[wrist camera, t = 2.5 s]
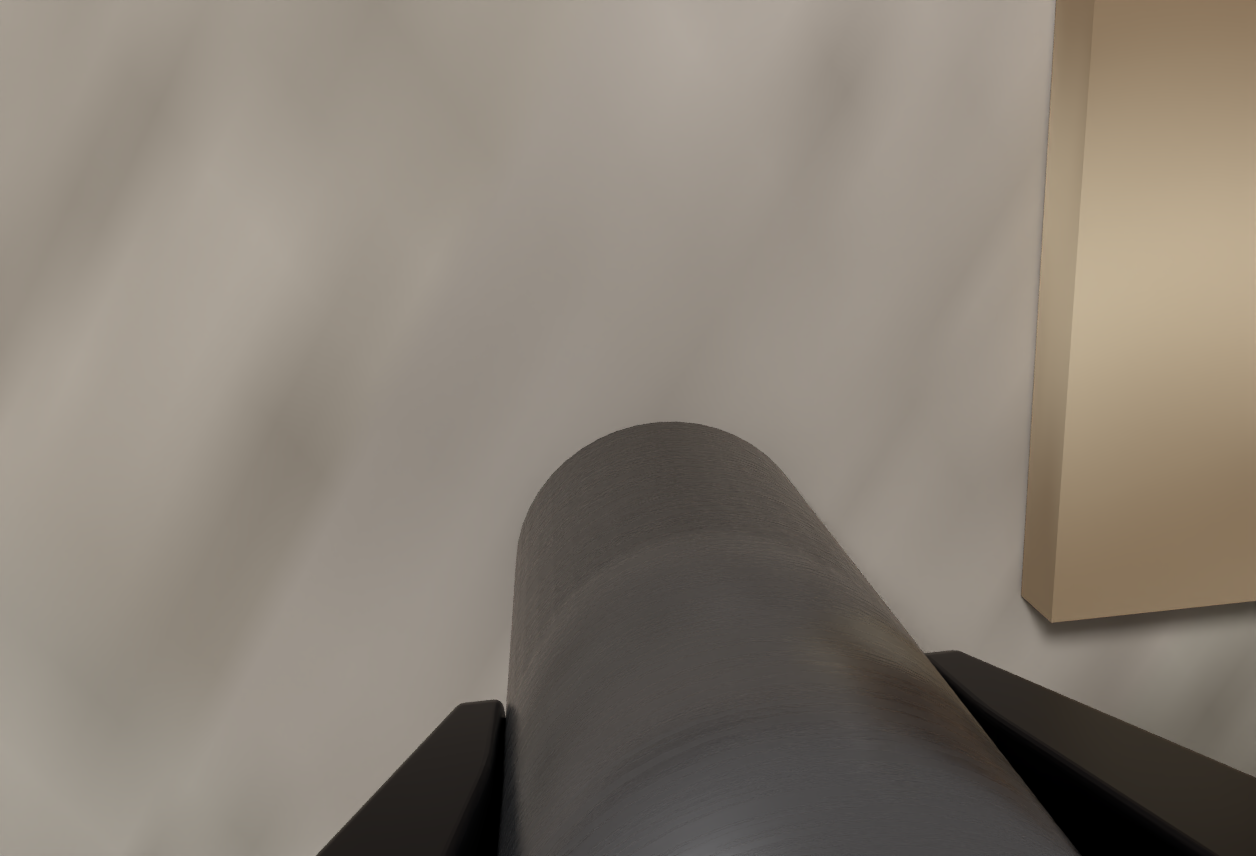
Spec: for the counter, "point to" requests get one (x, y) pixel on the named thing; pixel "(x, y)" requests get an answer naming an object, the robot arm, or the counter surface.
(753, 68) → the counter surface
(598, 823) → the peg
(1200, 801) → the robot arm
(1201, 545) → the well
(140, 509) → the counter surface
